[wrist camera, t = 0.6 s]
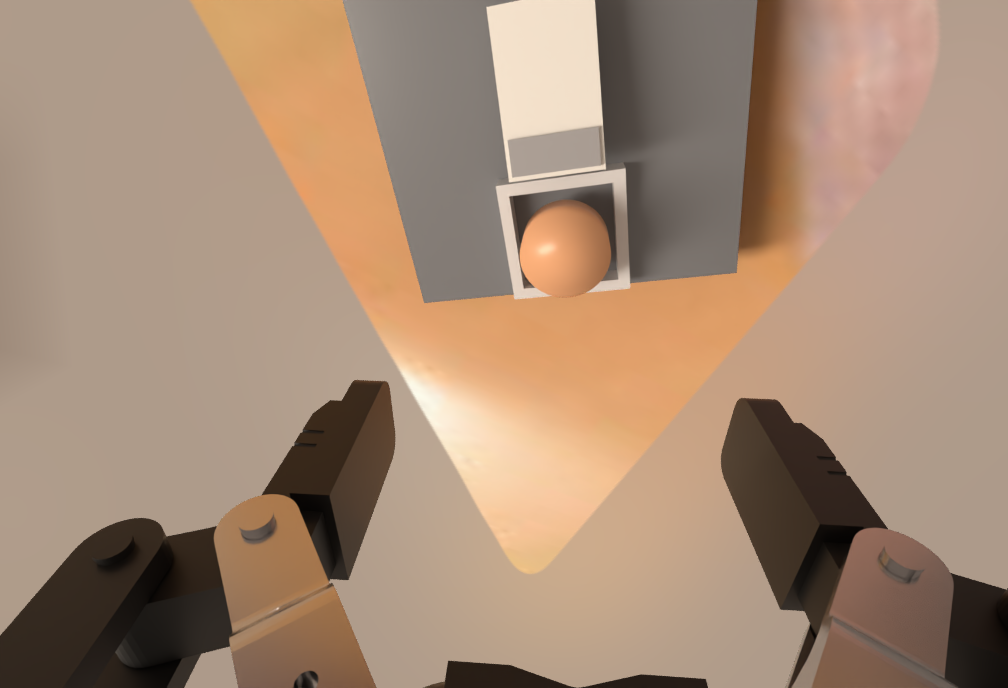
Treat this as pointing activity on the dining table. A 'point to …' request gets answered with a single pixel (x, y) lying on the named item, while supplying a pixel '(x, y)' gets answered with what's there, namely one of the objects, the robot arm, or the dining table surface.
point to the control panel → (611, 192)
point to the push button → (565, 249)
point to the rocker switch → (548, 86)
